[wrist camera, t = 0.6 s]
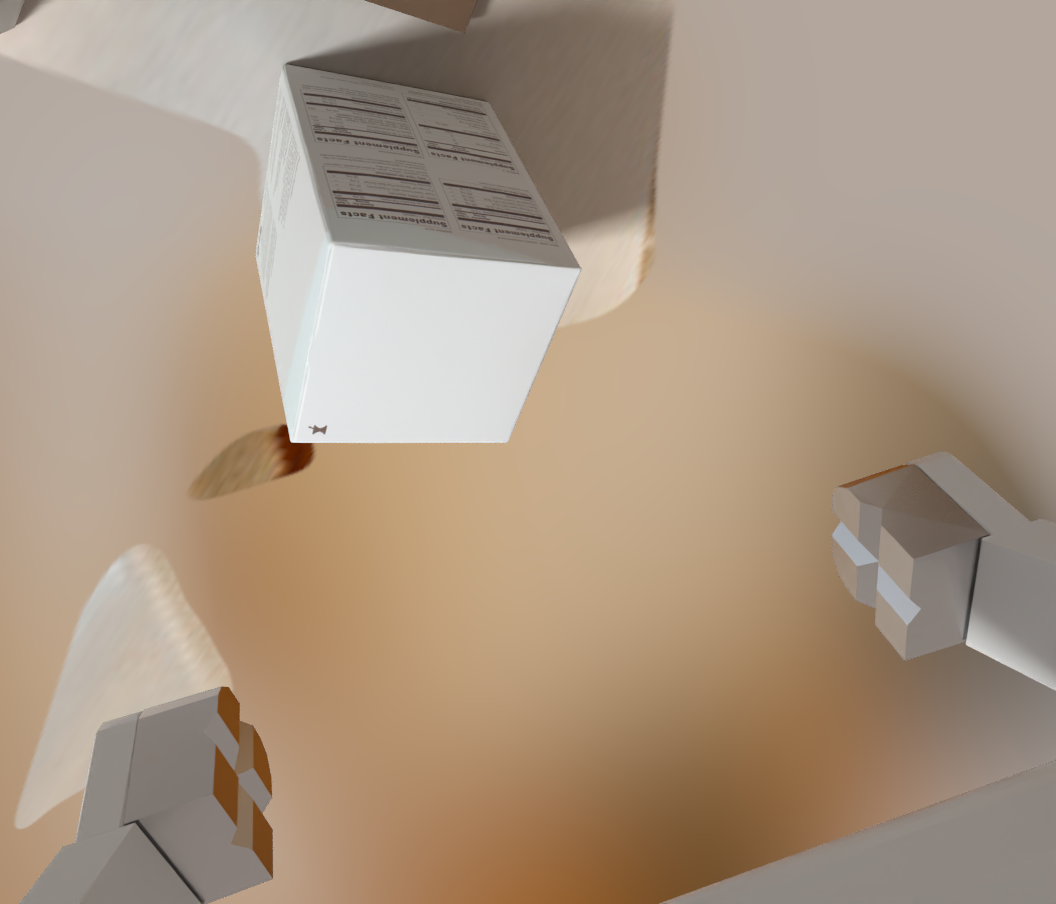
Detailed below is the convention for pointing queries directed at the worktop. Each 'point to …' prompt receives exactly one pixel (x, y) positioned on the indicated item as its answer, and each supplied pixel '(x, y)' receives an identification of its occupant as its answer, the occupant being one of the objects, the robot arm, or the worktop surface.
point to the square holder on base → (435, 11)
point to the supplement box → (403, 264)
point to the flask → (9, 13)
